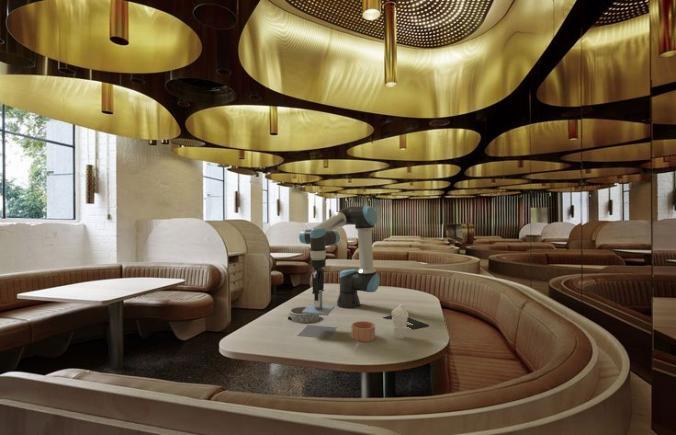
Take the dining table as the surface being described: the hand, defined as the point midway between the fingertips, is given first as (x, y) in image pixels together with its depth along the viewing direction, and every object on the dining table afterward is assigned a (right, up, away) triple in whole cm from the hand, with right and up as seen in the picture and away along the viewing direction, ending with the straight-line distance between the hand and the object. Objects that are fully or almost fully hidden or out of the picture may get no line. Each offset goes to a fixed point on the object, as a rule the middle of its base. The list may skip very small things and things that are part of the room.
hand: (318, 305), depth 162 cm
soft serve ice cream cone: (+39, -14, -6) cm, 42 cm away
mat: (0, -14, 0) cm, 14 cm away
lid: (0, -3, 0) cm, 3 cm away
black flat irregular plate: (+46, -14, +17) cm, 51 cm away
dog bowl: (-10, -14, +21) cm, 27 cm away
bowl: (+22, -14, -6) cm, 27 cm away
